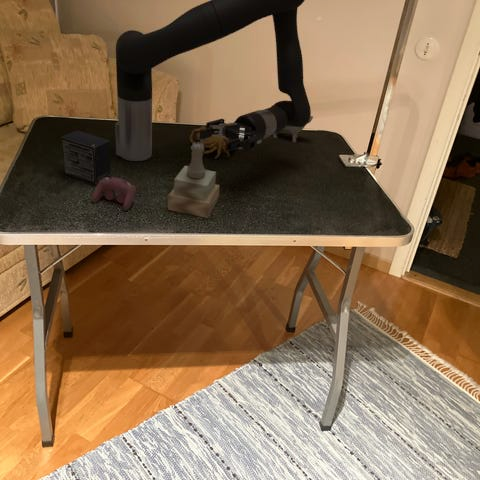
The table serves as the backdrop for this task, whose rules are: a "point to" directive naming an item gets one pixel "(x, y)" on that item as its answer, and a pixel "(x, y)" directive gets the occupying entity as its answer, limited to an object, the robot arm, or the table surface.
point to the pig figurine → (293, 130)
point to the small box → (86, 157)
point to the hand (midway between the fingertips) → (213, 141)
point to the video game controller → (108, 188)
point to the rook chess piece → (196, 162)
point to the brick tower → (194, 194)
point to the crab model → (211, 142)
